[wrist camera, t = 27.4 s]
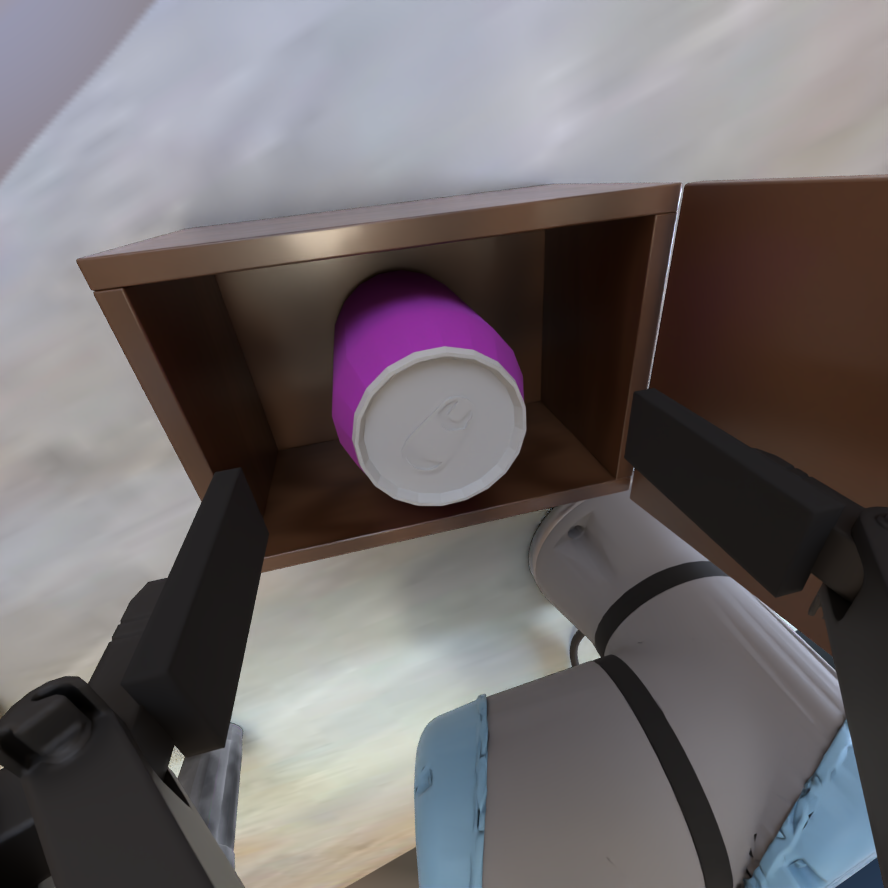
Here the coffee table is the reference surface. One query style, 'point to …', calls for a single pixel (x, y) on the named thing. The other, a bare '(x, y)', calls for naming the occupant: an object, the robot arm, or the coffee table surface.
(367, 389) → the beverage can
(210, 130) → the coffee table surface
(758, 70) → the coffee table surface
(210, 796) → the beverage cup
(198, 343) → the chest
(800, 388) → the lid
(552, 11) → the coffee table surface
